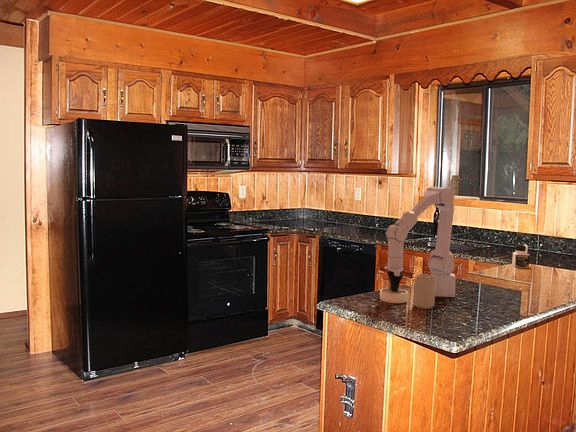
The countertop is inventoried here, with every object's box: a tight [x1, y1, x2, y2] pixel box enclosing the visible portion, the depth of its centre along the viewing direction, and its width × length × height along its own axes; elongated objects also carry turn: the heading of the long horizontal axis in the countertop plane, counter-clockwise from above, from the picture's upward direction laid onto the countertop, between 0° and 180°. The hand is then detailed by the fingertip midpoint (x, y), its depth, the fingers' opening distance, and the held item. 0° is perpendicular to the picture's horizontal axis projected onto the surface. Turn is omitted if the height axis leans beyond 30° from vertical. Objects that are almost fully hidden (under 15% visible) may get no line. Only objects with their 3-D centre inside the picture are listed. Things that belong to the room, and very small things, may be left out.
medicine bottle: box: [511, 243, 531, 269], centre depth 295 cm, size 7×7×12 cm
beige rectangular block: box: [387, 279, 400, 294], centre depth 214 cm, size 4×2×7 cm, turn 86°
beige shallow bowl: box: [379, 287, 409, 304], centre depth 214 cm, size 10×10×4 cm
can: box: [413, 273, 436, 310], centre depth 204 cm, size 8×8×12 cm
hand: (394, 290), depth 214 cm, fingers closed on beige rectangular block, 2 cm apart
